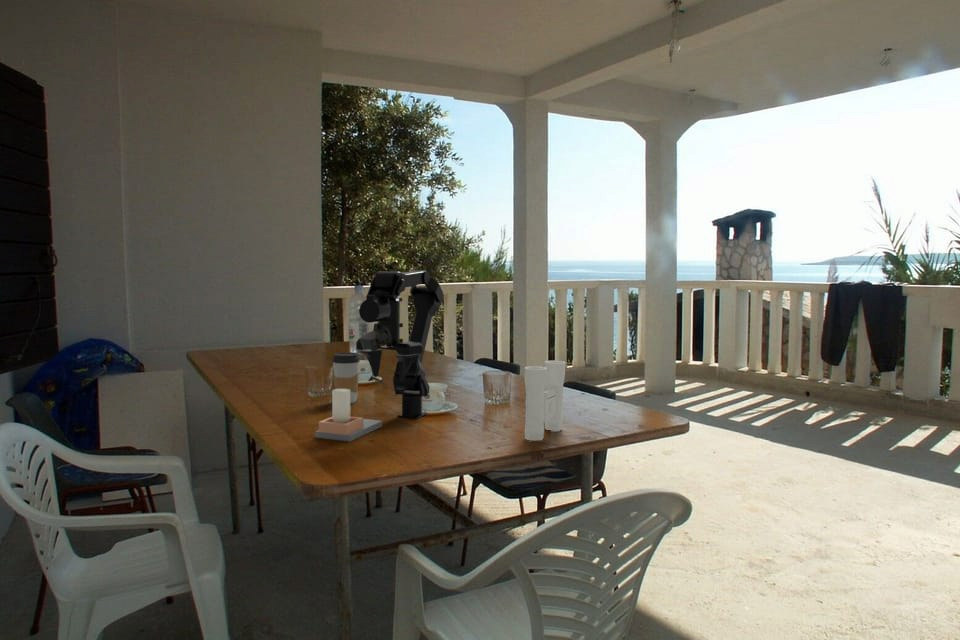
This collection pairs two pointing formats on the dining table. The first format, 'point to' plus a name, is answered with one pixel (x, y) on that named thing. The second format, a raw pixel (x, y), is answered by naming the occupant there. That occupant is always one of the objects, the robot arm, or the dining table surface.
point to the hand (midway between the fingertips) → (388, 378)
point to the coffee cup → (346, 373)
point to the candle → (341, 405)
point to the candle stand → (346, 428)
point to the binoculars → (544, 398)
